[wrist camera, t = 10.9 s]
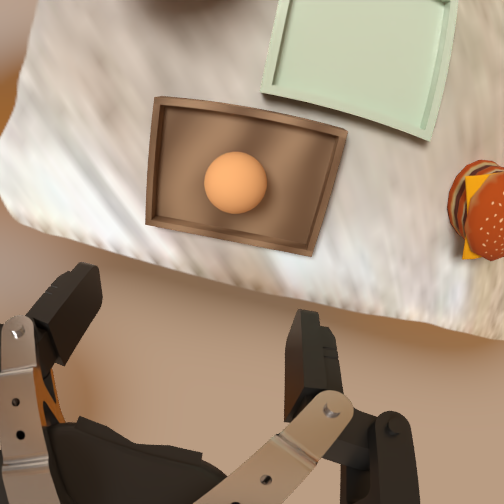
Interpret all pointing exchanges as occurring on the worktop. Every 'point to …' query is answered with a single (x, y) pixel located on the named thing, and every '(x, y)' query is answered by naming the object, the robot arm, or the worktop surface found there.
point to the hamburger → (479, 209)
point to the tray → (250, 142)
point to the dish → (364, 58)
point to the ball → (235, 182)
